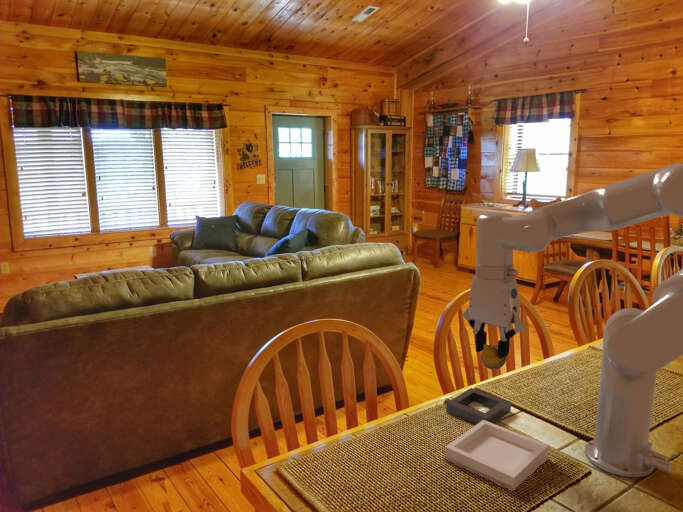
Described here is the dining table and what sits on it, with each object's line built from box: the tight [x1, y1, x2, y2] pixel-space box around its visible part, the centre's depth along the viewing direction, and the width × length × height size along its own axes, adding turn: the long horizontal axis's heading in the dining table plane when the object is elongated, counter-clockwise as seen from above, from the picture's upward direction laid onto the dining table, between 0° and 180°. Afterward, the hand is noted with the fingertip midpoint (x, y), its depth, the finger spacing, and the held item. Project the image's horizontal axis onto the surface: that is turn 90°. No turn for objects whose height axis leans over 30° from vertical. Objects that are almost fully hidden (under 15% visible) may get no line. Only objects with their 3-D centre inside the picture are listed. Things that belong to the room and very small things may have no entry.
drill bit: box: [480, 343, 508, 371], centre depth 116 cm, size 5×5×10 cm
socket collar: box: [445, 387, 512, 425], centre depth 129 cm, size 11×11×2 cm
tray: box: [444, 420, 550, 492], centre depth 110 cm, size 15×15×3 cm
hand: (491, 352), depth 116 cm, fingers closed on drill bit, 4 cm apart
